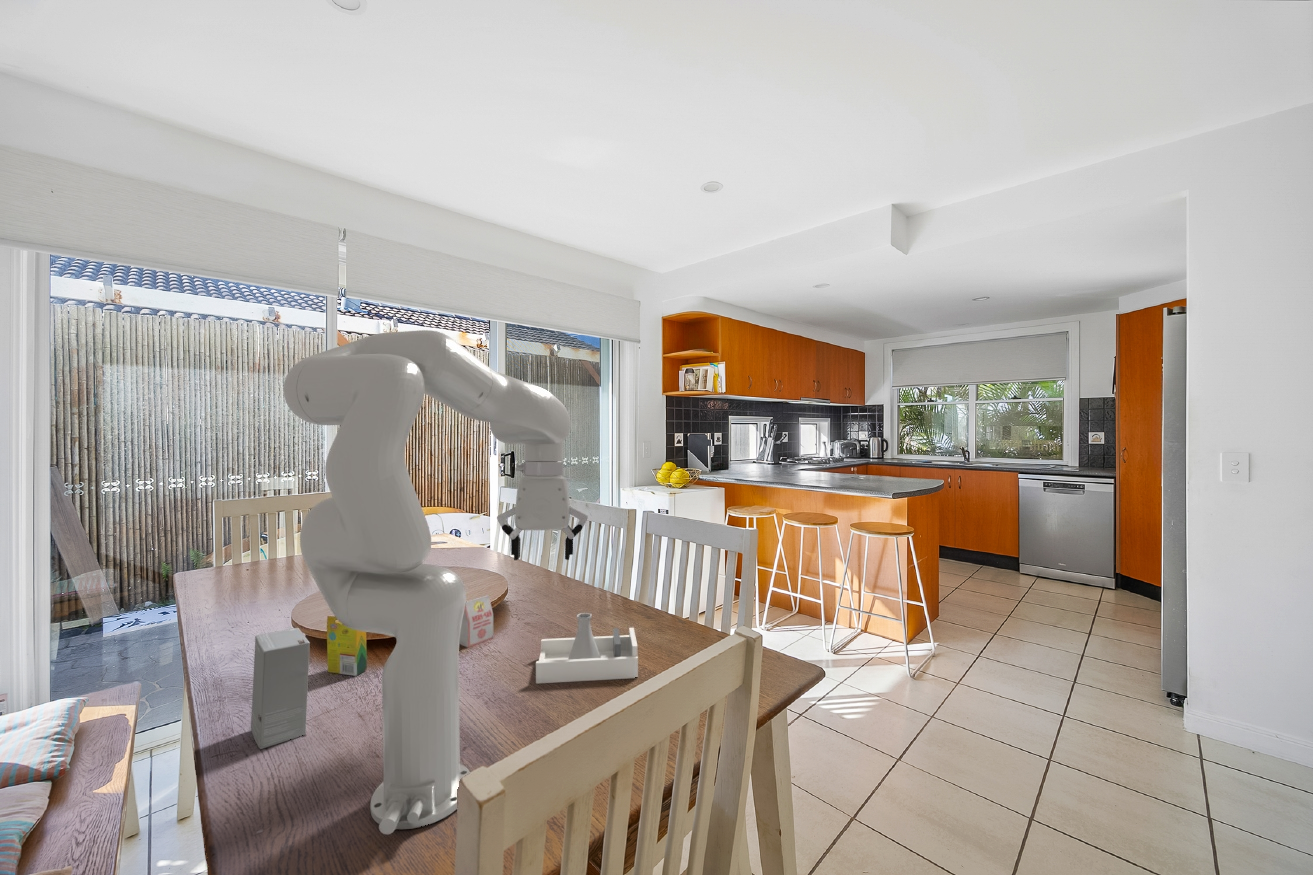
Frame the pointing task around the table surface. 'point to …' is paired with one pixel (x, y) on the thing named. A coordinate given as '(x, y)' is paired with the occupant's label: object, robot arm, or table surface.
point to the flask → (584, 640)
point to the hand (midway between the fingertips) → (542, 558)
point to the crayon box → (345, 649)
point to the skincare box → (280, 687)
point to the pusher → (616, 643)
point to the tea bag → (476, 622)
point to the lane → (587, 660)
